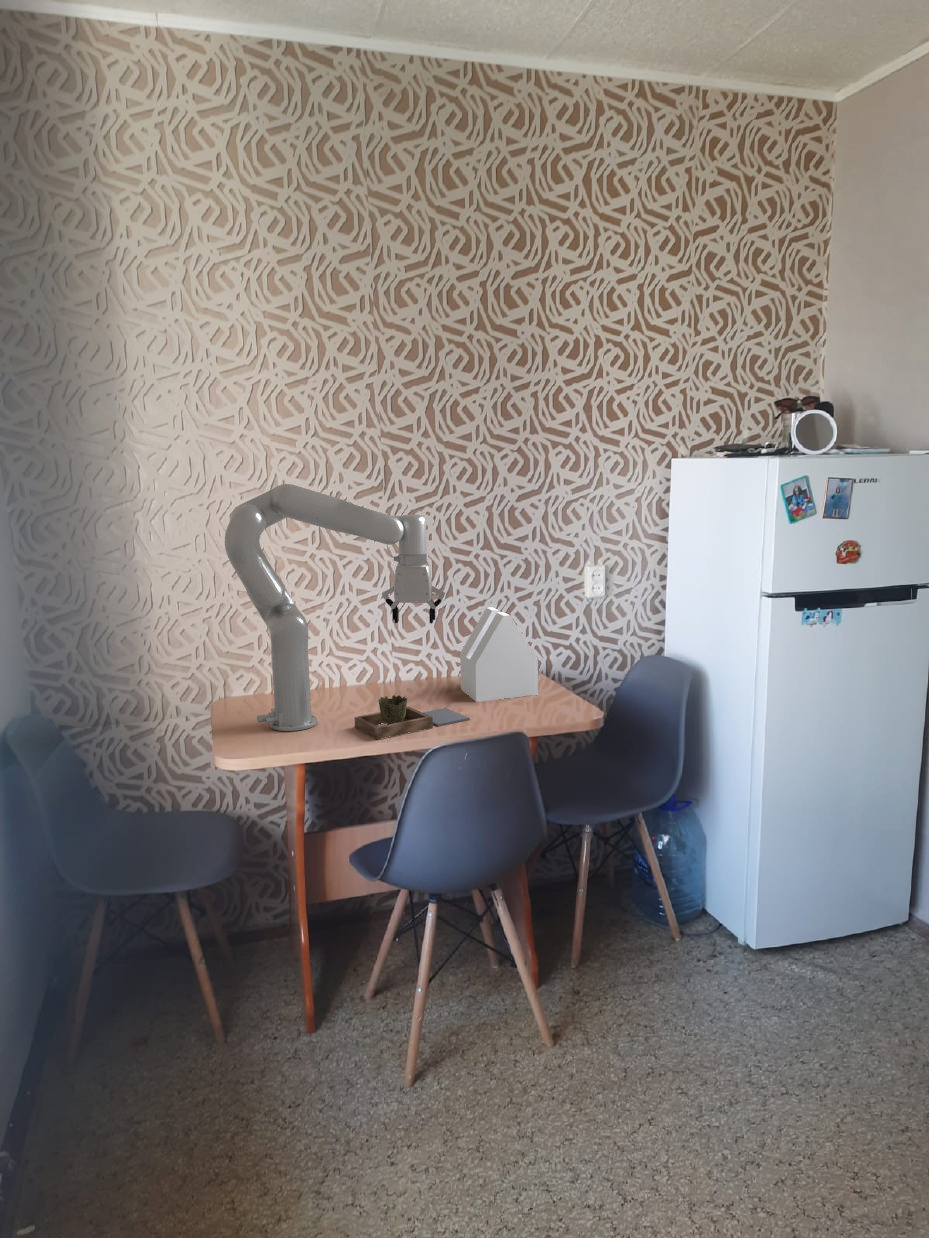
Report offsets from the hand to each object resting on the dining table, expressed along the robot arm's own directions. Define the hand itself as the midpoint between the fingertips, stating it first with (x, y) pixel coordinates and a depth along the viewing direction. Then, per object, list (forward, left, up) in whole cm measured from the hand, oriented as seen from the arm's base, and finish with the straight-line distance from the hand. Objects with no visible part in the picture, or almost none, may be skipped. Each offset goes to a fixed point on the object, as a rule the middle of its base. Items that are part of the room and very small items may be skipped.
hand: (414, 622), depth 232 cm
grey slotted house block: (+30, +2, -26) cm, 40 cm away
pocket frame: (-13, -10, -25) cm, 30 cm away
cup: (-13, -10, -26) cm, 30 cm away
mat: (+2, -10, -25) cm, 27 cm away
